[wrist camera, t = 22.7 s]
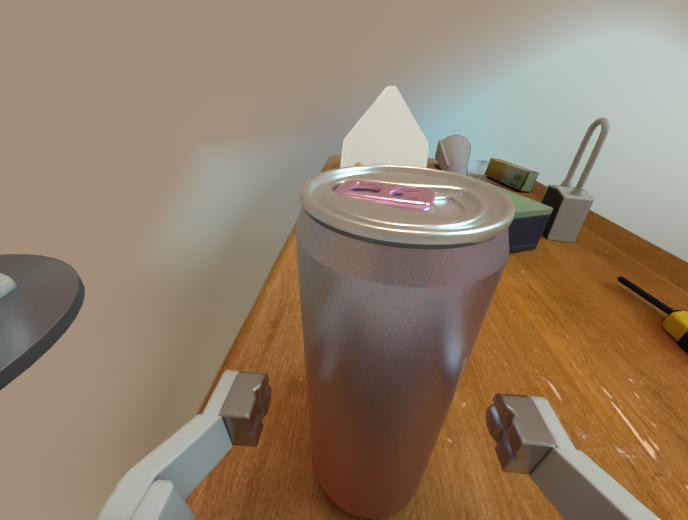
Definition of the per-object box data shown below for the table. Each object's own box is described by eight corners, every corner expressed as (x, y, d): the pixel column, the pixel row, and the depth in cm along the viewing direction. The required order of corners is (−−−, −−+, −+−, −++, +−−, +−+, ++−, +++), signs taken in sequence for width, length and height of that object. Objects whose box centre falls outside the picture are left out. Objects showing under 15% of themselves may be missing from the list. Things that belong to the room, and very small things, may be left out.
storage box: (397, 221, 43) (401, 190, 40) (470, 213, 47) (479, 184, 44) (446, 263, 33) (456, 226, 30) (535, 248, 36) (550, 214, 34)
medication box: (531, 192, 57) (540, 172, 55) (520, 191, 57) (530, 171, 54) (492, 175, 67) (499, 158, 65) (483, 174, 66) (490, 157, 64)
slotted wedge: (414, 212, 55) (423, 125, 57) (423, 193, 44) (434, 87, 46) (345, 206, 57) (355, 122, 58) (337, 187, 46) (350, 84, 47)
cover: (398, 188, 41) (399, 183, 41) (475, 182, 45) (476, 177, 44) (456, 226, 30) (458, 219, 30) (551, 214, 34) (553, 208, 33)
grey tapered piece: (508, 174, 51) (474, 135, 71) (459, 170, 52) (440, 133, 72) (492, 212, 56) (465, 165, 76) (448, 208, 57) (433, 163, 77)
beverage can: (334, 389, 19) (337, 156, 11) (425, 420, 17) (506, 173, 9) (293, 493, 14) (243, 210, 6) (413, 548, 12) (560, 263, 4)
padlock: (577, 243, 38) (642, 121, 30) (543, 239, 39) (598, 119, 31) (558, 223, 44) (608, 116, 36) (528, 220, 44) (571, 114, 37)
